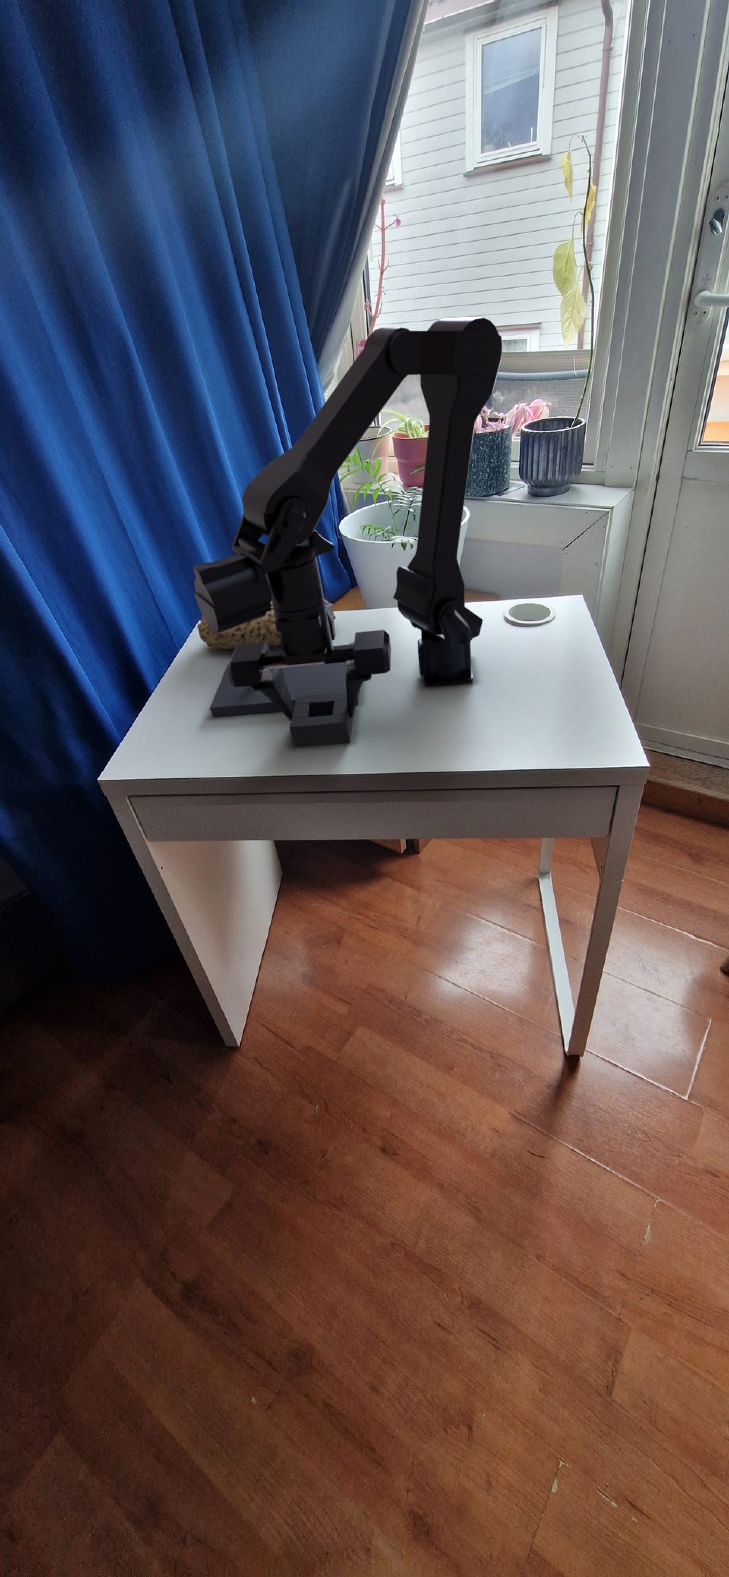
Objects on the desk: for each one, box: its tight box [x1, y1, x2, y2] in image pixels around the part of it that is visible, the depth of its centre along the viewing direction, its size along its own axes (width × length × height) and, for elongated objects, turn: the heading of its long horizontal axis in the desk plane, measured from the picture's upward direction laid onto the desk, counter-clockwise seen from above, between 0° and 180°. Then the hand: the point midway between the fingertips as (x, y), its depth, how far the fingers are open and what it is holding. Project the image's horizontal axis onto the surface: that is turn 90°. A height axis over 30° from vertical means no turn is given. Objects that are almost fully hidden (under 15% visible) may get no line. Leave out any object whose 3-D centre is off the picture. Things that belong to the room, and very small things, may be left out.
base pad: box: [209, 662, 361, 718], centre depth 90 cm, size 20×12×4 cm, turn 87°
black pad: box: [289, 692, 354, 748], centre depth 82 cm, size 7×7×3 cm
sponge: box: [196, 599, 336, 650], centre depth 102 cm, size 13×8×20 cm
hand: (322, 718), depth 81 cm, fingers closed on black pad, 7 cm apart
